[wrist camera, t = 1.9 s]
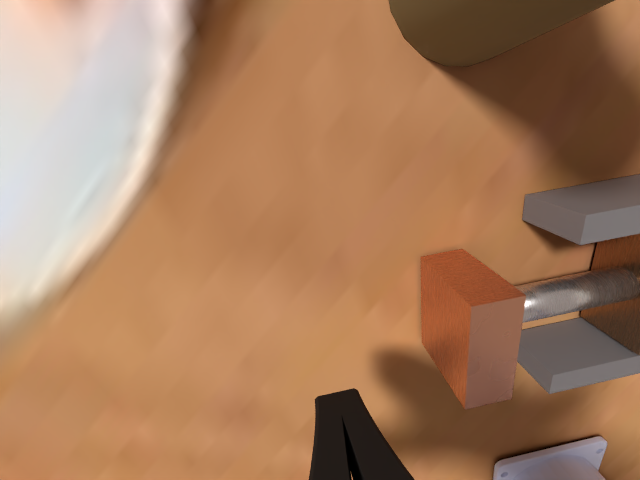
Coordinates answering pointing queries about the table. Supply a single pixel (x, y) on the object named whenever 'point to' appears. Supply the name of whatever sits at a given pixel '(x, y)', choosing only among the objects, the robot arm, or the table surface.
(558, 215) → the track
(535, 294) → the ram
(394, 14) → the cork
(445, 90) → the table surface
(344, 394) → the robot arm
